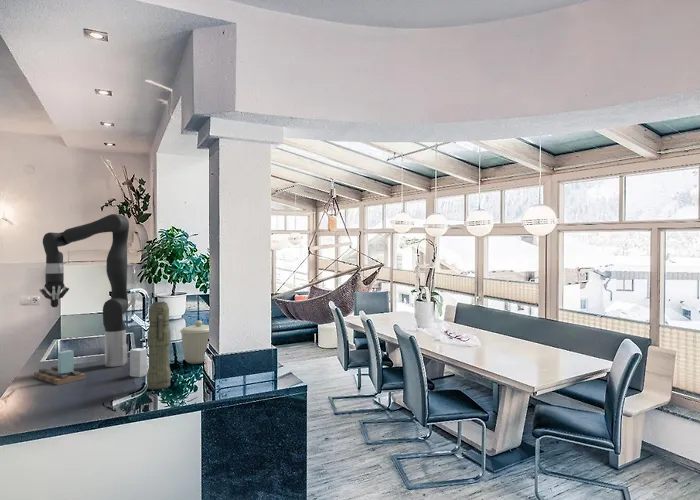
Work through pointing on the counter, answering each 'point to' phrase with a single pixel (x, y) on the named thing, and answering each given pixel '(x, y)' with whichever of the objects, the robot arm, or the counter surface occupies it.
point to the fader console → (58, 376)
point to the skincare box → (138, 362)
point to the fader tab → (66, 362)
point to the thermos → (159, 346)
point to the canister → (195, 342)
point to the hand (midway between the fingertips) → (54, 307)
